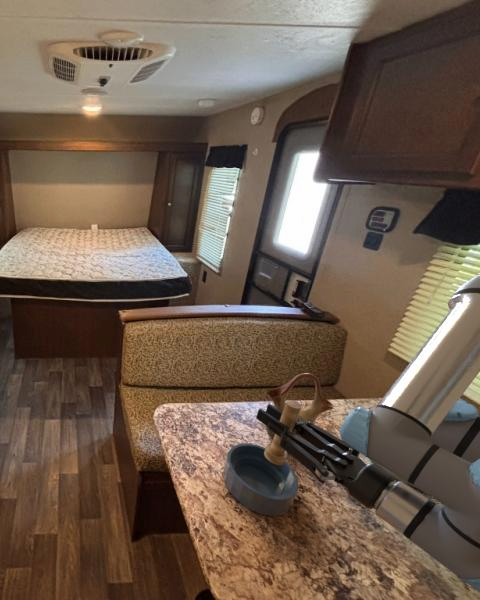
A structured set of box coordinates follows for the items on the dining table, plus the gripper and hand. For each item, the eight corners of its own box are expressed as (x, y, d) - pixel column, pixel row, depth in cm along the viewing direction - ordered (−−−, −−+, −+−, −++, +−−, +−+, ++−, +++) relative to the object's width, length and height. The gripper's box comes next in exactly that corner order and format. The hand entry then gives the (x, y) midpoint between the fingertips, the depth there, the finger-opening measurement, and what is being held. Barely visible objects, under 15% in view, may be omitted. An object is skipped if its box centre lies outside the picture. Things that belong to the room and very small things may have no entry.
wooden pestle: (284, 454, 76) (304, 401, 69) (285, 468, 72) (307, 414, 66) (264, 446, 78) (281, 394, 71) (264, 460, 74) (282, 406, 68)
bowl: (288, 476, 83) (296, 459, 81) (292, 531, 71) (301, 512, 68) (225, 451, 90) (230, 435, 88) (218, 497, 78) (224, 479, 75)
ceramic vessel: (256, 448, 92) (280, 377, 82) (250, 426, 100) (270, 359, 90) (321, 462, 88) (353, 390, 78) (309, 438, 96) (337, 369, 86)
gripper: (354, 529, 55) (237, 434, 74) (395, 491, 61) (278, 412, 81) (371, 500, 52) (244, 408, 71) (412, 463, 58) (287, 389, 78)
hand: (263, 411), depth 76 cm, fingers closed on wooden pestle, 3 cm apart
